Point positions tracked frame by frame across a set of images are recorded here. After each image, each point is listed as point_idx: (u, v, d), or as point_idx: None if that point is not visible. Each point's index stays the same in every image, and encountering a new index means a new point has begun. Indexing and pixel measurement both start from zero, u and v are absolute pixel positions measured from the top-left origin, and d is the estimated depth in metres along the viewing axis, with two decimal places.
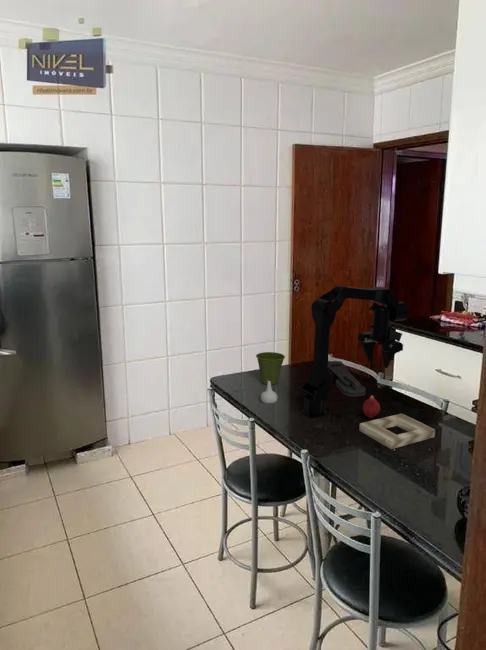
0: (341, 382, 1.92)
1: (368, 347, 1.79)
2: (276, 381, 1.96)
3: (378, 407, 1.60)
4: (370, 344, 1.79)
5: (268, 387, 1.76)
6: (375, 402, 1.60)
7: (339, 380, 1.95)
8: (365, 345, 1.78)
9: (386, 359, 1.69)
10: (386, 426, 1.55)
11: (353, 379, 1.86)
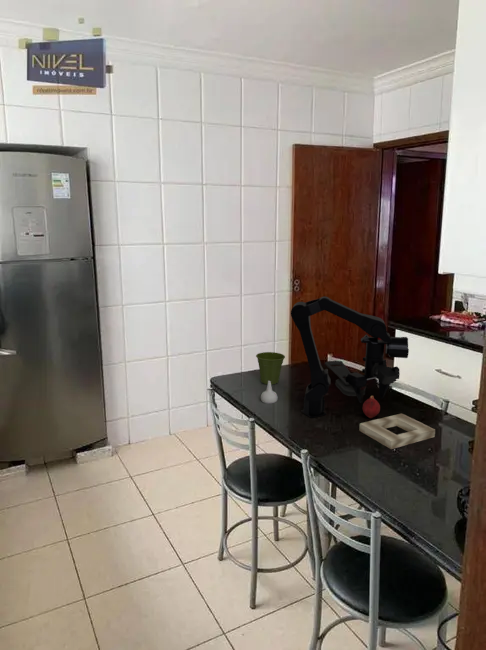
0: (341, 382, 1.93)
1: (382, 382, 1.64)
2: (276, 381, 1.96)
3: (378, 407, 1.60)
4: None
5: (268, 387, 1.76)
6: (375, 402, 1.60)
7: (339, 380, 1.95)
8: None
9: (356, 392, 1.60)
10: (386, 426, 1.55)
11: None
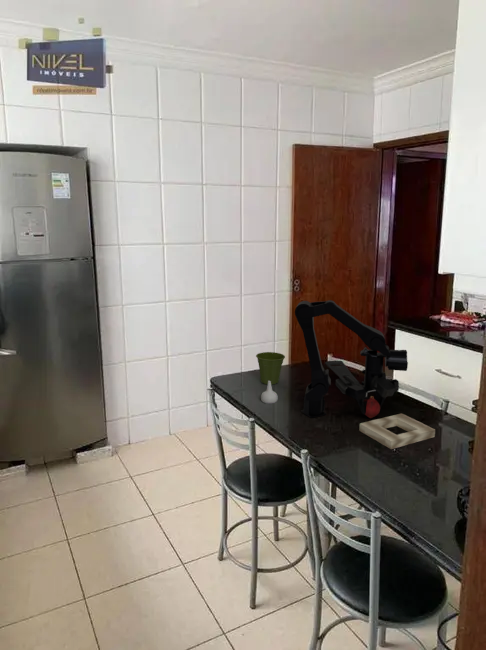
0: (341, 381, 1.93)
1: (378, 395, 1.64)
2: (276, 381, 1.96)
3: (378, 407, 1.60)
4: (380, 393, 1.63)
5: (268, 387, 1.77)
6: (375, 402, 1.60)
7: (339, 379, 1.95)
8: (375, 392, 1.65)
9: (359, 403, 1.61)
10: (386, 426, 1.55)
11: (352, 378, 1.87)
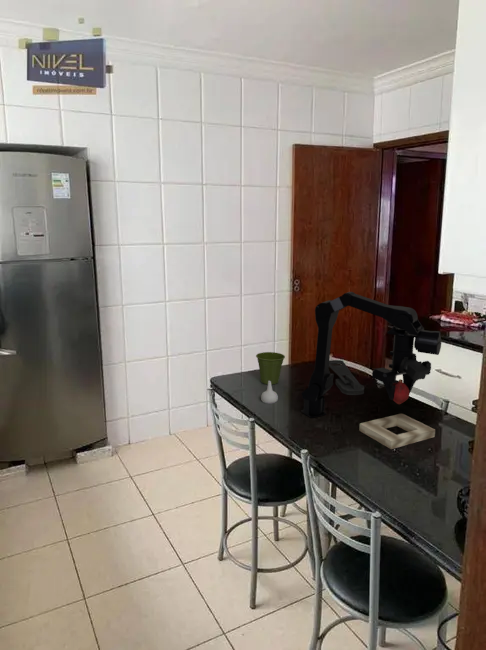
0: (341, 381, 1.94)
1: (406, 379, 1.50)
2: (276, 381, 1.96)
3: (407, 392, 1.47)
4: (409, 377, 1.49)
5: (269, 387, 1.77)
6: (404, 386, 1.47)
7: (339, 379, 1.96)
8: (403, 375, 1.51)
9: (386, 388, 1.47)
10: (386, 426, 1.55)
11: (352, 378, 1.88)
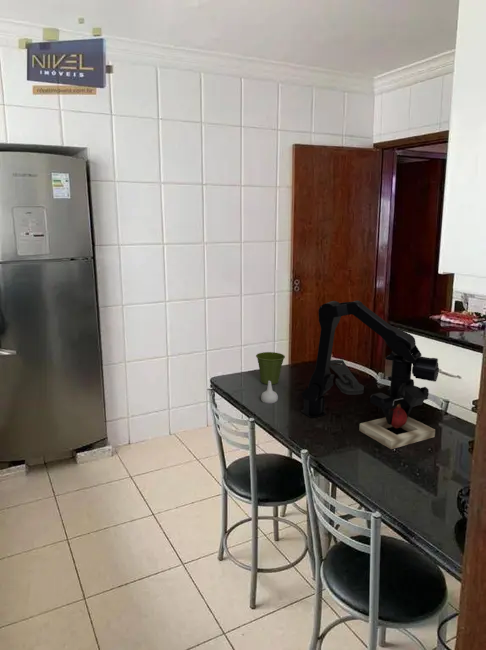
0: (340, 380, 1.94)
1: (404, 404, 1.52)
2: (276, 381, 1.96)
3: (405, 416, 1.48)
4: (407, 401, 1.51)
5: (269, 387, 1.77)
6: (402, 411, 1.48)
7: (339, 378, 1.97)
8: (401, 400, 1.53)
9: (384, 412, 1.49)
10: (386, 426, 1.55)
11: (352, 377, 1.88)
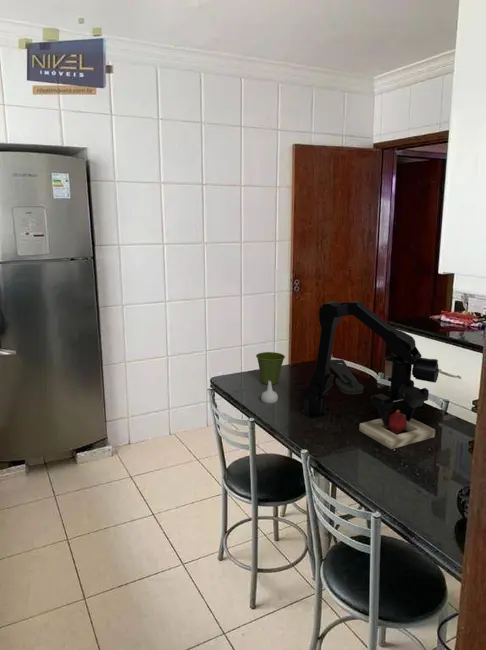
0: (340, 380, 1.95)
1: (408, 404, 1.53)
2: (276, 381, 1.96)
3: (405, 422, 1.49)
4: None
5: (269, 387, 1.77)
6: (401, 417, 1.49)
7: (339, 378, 1.97)
8: None
9: (381, 414, 1.49)
10: None
11: (351, 377, 1.88)
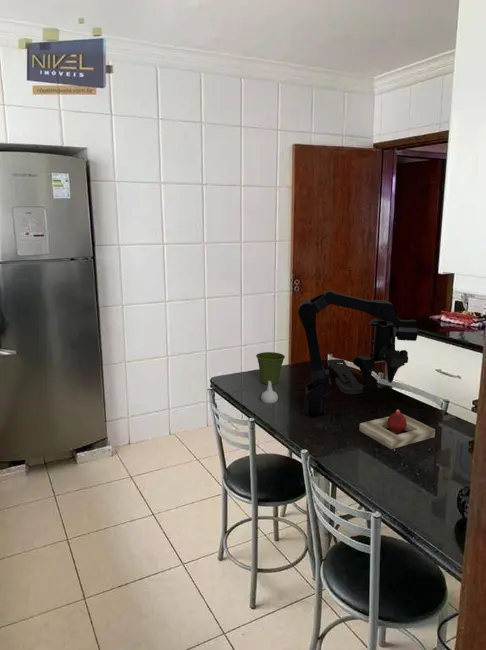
0: (340, 379, 1.95)
1: (390, 366, 1.63)
2: (276, 381, 1.96)
3: (405, 422, 1.49)
4: None
5: (269, 387, 1.77)
6: (401, 417, 1.49)
7: (339, 378, 1.98)
8: (387, 363, 1.65)
9: (363, 375, 1.60)
10: (386, 426, 1.55)
11: (351, 377, 1.89)
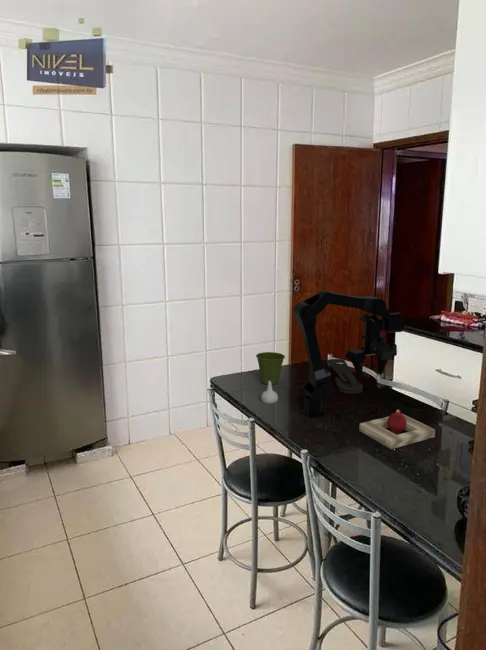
0: (340, 379, 1.96)
1: (380, 359, 1.71)
2: (276, 381, 1.96)
3: (405, 422, 1.49)
4: None
5: (269, 387, 1.77)
6: (401, 417, 1.49)
7: (339, 377, 1.98)
8: (377, 356, 1.72)
9: (355, 368, 1.67)
10: (386, 426, 1.55)
11: (351, 376, 1.89)
